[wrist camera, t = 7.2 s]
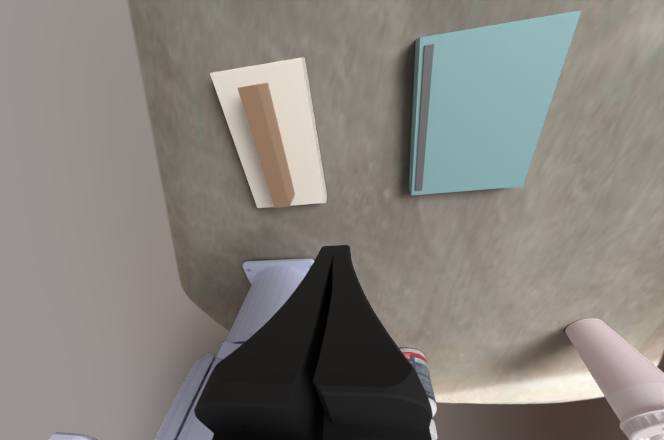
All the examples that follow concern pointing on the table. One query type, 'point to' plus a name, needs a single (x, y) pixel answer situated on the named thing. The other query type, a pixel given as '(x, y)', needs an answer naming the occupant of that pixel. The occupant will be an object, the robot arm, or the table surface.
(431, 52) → the teal flat block
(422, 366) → the pill bottle
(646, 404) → the smoothie
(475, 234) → the table surface
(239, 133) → the cream block with bar
